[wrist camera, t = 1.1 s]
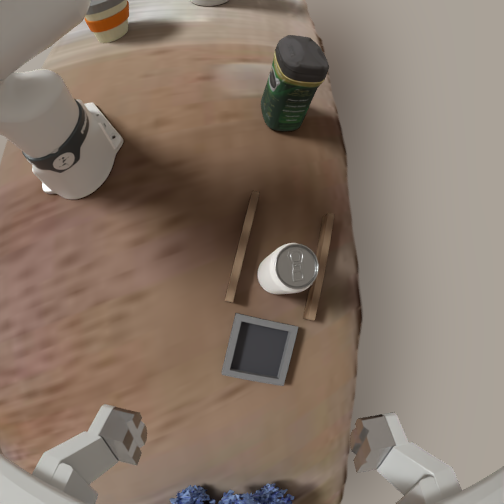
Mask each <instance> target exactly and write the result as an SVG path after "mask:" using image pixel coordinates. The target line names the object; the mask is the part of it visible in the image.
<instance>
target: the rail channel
mask: <svg viewBox="0 0 504 504" xmlns="http://www.w3.org/2000/svg"><path fill="white" fill-rule="evenodd" d="M259 194H260V192H256V191H252V194H251V197H250V201H249V205H248V209H247V212H246V216H245V220H244V224H243V228H242V232H241V236H240V240H239V244H238V248H237V252H236V256H235V260H234V264H233V268H232V272H231V276H230V280H229V284H228V288H227V292H226V296H225V301H229V302H233V300H234V296H235V292H236V287H237V283H238V279H239V275H240V271H241V267H242V263H243V259H244V255H245V251H246V246H247V242H248V238H249V234H250V230H251V226H252V222H253V218H254V214H255V210H256V206H257V202H258V198H259ZM333 221H334V214H331V213H327V214H326V215H324V216H323V219H322V225H321V231H320V236H319V242H318V248H317V253H316V257H317V260H318V264H319V270H318V275H317V277H316V279H315V280H314V282H313V283H312V285H311V286H310V288H309V293H308V298H307V302H306V307H305V311H304V316H303V318H304V319H309V320H314V321H315V317H316V312H317V308H318V303H319V298H320V294H321V289H322V284H323V279H324V273H325V268H326V263H327V257H328V252H329V246H330V240H331V234H332V228H333Z"/></svg>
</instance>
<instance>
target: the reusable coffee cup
mask: <svg viewBox="0 0 504 504" xmlns="http://www.w3.org/2000/svg"><path fill="white" fill-rule="evenodd" d="M128 17H129V3H128V1H127V0H91V3H90V6H89V9H88V12H87V14H86V16H85V21H86V23H87V25H88V27H89V28H90V30H91V31H92V32H94V34H95V36H96V38H97V39H98V41H99V42H101V43H108V42H112V41H115V40H117V39H119V38H121V37H122V36H123V35H125V34H126V32H127V31H128Z"/></svg>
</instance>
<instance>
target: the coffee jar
mask: <svg viewBox="0 0 504 504" xmlns="http://www.w3.org/2000/svg"><path fill="white" fill-rule="evenodd" d="M328 69H329V65H328V62H327V59H326V57H325V55H324V53H323V52H322V50H321V48H320V47H319V46H318V45H317V44H316V43H315V42H314V41H313V40H312V39H311V38H308V37H302V36H293V35H288V36H286V37H284V38H282V39H281V40H280V41H279V43H278V45H277V47H276V49H275V53H274V59H273V64H272V68H271V71H270V75H269V78H268V81H267V84H266V87H265V90H264V93H263V97H262V100H261V109H262V114H263V117H264V120H265V123H266V124H267V126H268V127H270V128H271V129H273V130H277V131H293V130H296V129H298V128H299V127H300V126H301V124H302V122H303V120H304V117H305V115H306V113H307V110H308V108H309V105H310V103H311V101H312V99H313V97H314V94H315V92H316V90H317V88H318V87H319V85H320V84H322V82H323V81H324V80H325V77H326V74H327V72H328Z"/></svg>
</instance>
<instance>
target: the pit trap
mask: <svg viewBox="0 0 504 504" xmlns="http://www.w3.org/2000/svg"><path fill="white" fill-rule="evenodd" d="M297 331H298V327H297V326H293V325H288V324H283V323H279V322H274V321H269V320H265V319H260V318H256V317H251V316H247V315H243V314H238V313H236V314H235V318H234V322H233V327H232V331H231V335H230V339H229V343H228V347H227V352H226V356H225V360H224V364H223V368H222V375H226V376H231V377H235V378H241V379H246V380H251V381H257V382H262V383H268V384H275V385H281V386H284V382H285V378H286V375H287V371H288V367H289V363H290V359H291V355H292V351H293V347H294V343H295V339H296V335H297Z"/></svg>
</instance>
